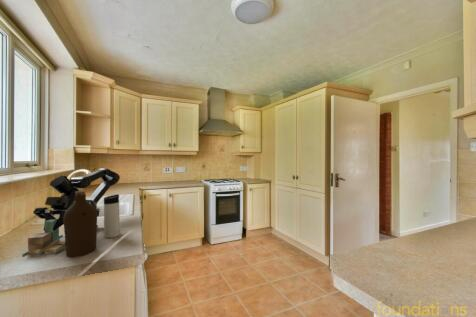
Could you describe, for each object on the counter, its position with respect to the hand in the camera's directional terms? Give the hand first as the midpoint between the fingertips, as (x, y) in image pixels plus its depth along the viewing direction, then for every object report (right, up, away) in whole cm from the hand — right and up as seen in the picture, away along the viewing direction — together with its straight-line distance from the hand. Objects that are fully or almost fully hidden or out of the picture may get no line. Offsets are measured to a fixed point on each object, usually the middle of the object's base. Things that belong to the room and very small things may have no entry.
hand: (49, 230), depth 86 cm
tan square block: (+6, -6, +1) cm, 9 cm away
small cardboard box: (+6, -7, -5) cm, 10 cm away
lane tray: (+3, -8, +1) cm, 8 cm away
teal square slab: (0, -7, -2) cm, 7 cm away
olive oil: (+18, -8, -6) cm, 20 cm away
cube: (0, -5, -4) cm, 7 cm away
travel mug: (+20, -7, +11) cm, 24 cm away
